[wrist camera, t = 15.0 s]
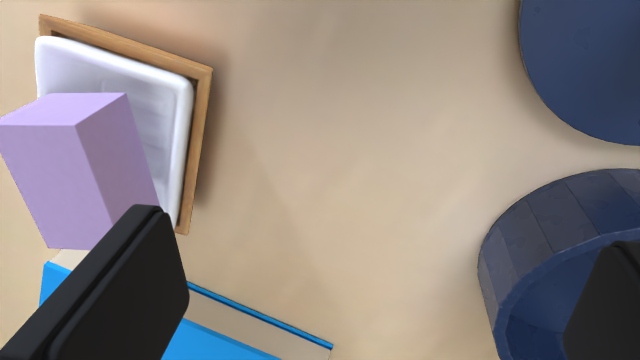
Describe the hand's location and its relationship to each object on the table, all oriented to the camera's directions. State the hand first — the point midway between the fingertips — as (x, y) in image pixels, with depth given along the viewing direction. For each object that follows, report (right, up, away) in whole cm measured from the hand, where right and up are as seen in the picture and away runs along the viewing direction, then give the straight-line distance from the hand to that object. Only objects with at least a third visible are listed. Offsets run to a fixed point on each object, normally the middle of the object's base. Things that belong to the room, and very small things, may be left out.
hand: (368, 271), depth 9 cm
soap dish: (-13, +7, +20) cm, 24 cm away
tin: (+18, -4, +21) cm, 28 cm away
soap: (-14, +4, +15) cm, 21 cm away
